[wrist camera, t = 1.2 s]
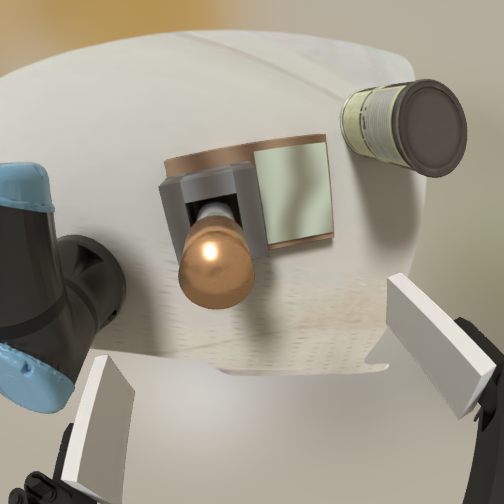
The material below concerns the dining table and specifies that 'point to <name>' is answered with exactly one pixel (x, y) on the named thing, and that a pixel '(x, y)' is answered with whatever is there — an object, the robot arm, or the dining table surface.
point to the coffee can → (407, 126)
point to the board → (255, 191)
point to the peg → (216, 258)
